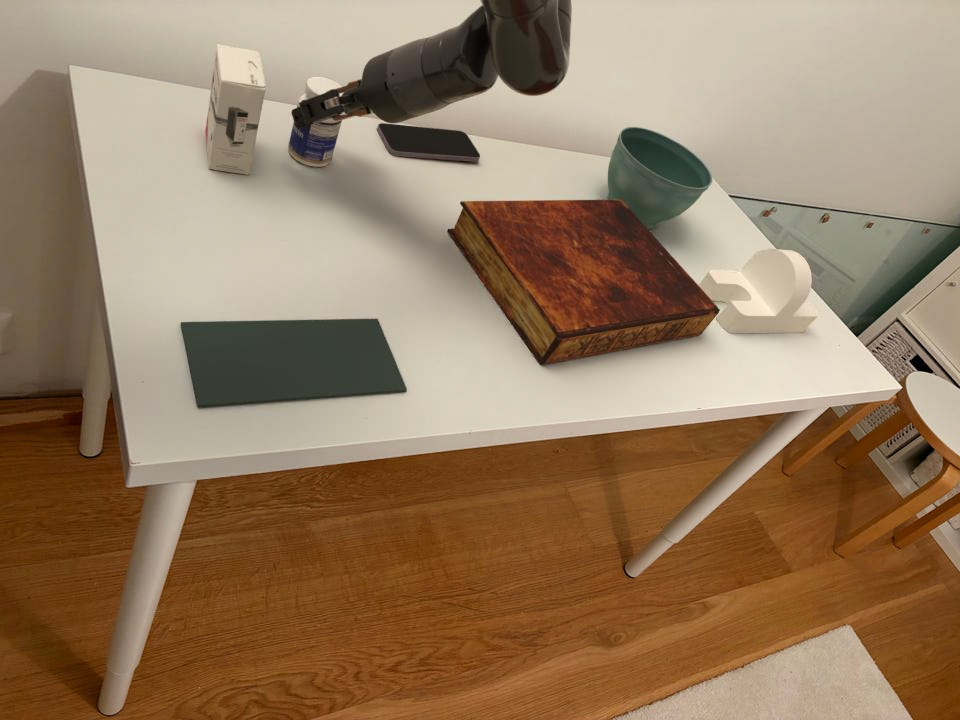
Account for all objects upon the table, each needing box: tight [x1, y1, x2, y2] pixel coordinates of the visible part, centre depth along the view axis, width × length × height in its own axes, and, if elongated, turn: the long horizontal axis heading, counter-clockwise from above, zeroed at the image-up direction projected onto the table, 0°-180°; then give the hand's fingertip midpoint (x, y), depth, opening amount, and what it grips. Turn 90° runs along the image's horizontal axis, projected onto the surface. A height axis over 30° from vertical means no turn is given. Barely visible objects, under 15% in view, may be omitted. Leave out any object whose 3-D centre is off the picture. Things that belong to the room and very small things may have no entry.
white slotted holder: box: [698, 248, 820, 334], centre depth 108 cm, size 10×18×11 cm, turn 112°
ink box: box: [205, 43, 267, 176], centre depth 85 cm, size 9×5×12 cm, turn 17°
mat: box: [180, 318, 408, 409], centre depth 70 cm, size 20×10×1 cm, turn 114°
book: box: [447, 199, 721, 366], centre depth 96 cm, size 30×24×5 cm
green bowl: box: [606, 126, 713, 230], centre depth 115 cm, size 16×16×11 cm
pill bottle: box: [287, 76, 344, 168], centre depth 92 cm, size 6×6×10 cm
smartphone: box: [376, 122, 481, 163], centre depth 108 cm, size 7×1×15 cm
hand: (321, 114), depth 91 cm, fingers open, 8 cm apart
